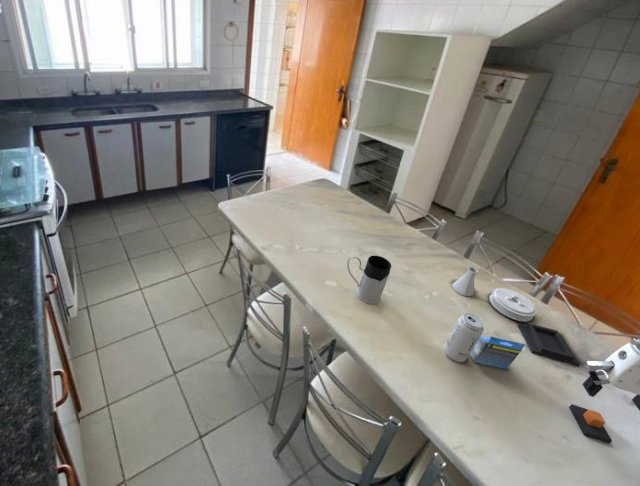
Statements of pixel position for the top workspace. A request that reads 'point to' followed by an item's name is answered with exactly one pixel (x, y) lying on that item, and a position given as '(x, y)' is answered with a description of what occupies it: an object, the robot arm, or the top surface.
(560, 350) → the black shallow tray
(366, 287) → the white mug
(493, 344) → the label tape box
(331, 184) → the top surface
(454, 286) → the flask
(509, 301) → the lid
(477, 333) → the energy drink can
